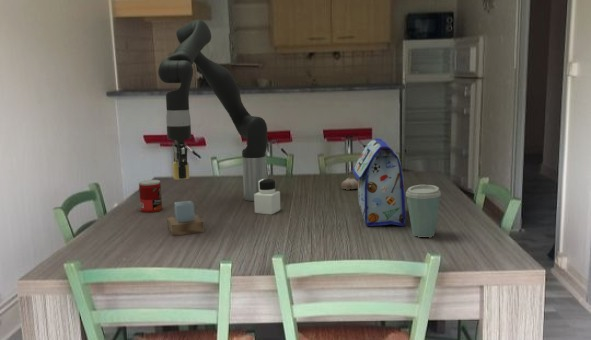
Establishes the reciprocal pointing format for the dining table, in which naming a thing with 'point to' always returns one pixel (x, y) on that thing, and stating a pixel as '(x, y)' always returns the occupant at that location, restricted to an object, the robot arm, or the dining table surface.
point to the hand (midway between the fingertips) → (181, 176)
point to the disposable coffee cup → (423, 209)
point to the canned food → (150, 195)
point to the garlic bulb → (350, 183)
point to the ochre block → (176, 171)
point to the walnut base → (185, 226)
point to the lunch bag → (380, 185)
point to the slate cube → (184, 211)
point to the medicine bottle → (267, 197)
